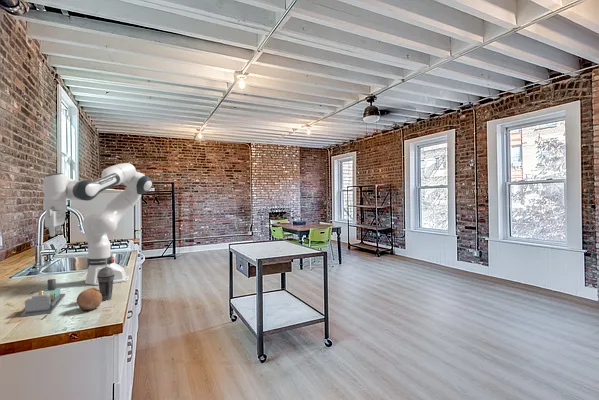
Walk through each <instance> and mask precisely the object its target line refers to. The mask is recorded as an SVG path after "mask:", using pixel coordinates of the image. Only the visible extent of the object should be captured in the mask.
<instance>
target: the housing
mask: <svg viewBox="0 0 599 400" xmlns="http://www.w3.org/2000/svg"><path fill="white" fill-rule="evenodd" d="M41 297H50V291H49V292H44V290H43V289H42V290H39V291H38V292H35V293H34V294H33V295H31V299H32V298H41Z"/></svg>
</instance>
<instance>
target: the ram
mask: <svg viewBox="0 0 599 400" xmlns="http://www.w3.org/2000/svg"><path fill="white" fill-rule="evenodd" d="M43 291H44V292H49V291H50V296H51V300H54V299H55V298H56V297H57V296H59V295H60V294H61V287H57V286H56V279H55V278H49V279H48V280H47V289H44V290H43Z"/></svg>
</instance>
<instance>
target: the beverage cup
mask: <svg viewBox="0 0 599 400" xmlns="http://www.w3.org/2000/svg"><path fill="white" fill-rule="evenodd" d="M114 275H115V274H114V271H113V270H112V269H111V268H109V267H107V258H106V267H104V268H102V269H101V270H100V271H99V272H98V276H97V277H98V282H99V285H98V290H99V292H100V293H101V294H102V301H101V302H106V300H107V301H110V300H112V297H113V296H112V295H113V288H114V283H113V279H114Z"/></svg>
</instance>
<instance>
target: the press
mask: <svg viewBox="0 0 599 400" xmlns="http://www.w3.org/2000/svg"><path fill="white" fill-rule="evenodd" d="M65 296H66V293H60V295H59V296H57V297H56V298H55V299H54V300H51V296H50V297H41V298H32V297H31V298H26V300H24V311H23V312H22V313H21V314H20V318H22V317H29V316H30V317H33V316H39V315H45V314H46V315H47V314H52V313H53V311H54V310H55V309H56V308H57V306H58V305H59V304H60V303H61V302H62V300H63V299H64V298H65Z"/></svg>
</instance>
